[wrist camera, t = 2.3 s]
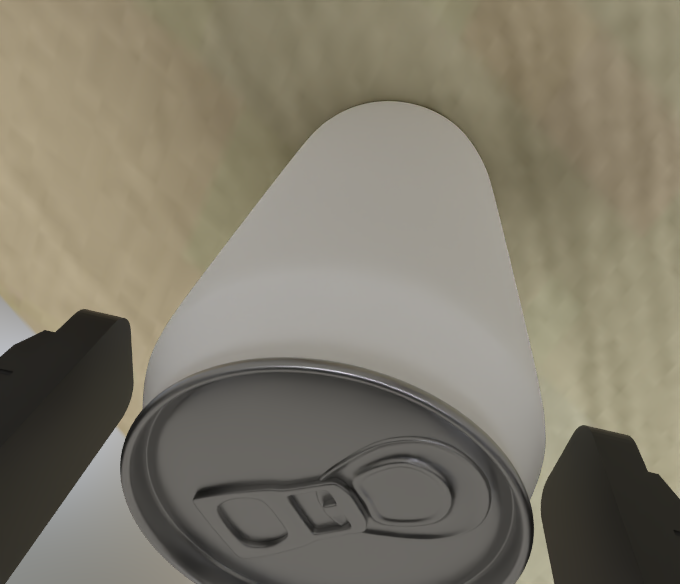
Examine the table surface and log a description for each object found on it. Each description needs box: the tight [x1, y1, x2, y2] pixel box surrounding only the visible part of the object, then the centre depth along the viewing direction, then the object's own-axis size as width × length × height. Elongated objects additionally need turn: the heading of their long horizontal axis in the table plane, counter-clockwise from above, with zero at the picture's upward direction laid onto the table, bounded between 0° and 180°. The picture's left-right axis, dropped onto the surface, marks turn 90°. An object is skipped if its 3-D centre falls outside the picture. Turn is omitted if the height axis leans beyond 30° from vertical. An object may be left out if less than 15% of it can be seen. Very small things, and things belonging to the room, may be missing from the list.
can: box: [120, 101, 546, 584], centre depth 12 cm, size 6×6×12 cm
